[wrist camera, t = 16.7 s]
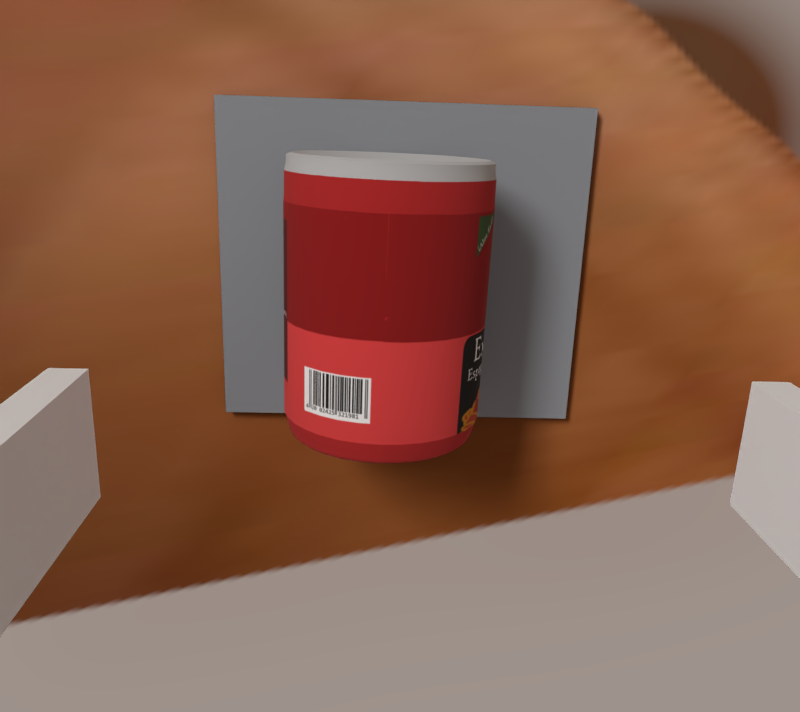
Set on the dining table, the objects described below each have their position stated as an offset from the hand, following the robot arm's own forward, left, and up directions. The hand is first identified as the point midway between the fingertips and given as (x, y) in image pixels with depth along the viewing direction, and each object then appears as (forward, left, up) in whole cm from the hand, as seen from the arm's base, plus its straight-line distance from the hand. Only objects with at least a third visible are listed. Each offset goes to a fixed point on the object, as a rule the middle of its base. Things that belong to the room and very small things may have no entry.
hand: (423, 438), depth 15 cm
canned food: (+5, -4, -15) cm, 17 cm away
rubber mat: (0, 0, -20) cm, 20 cm away
